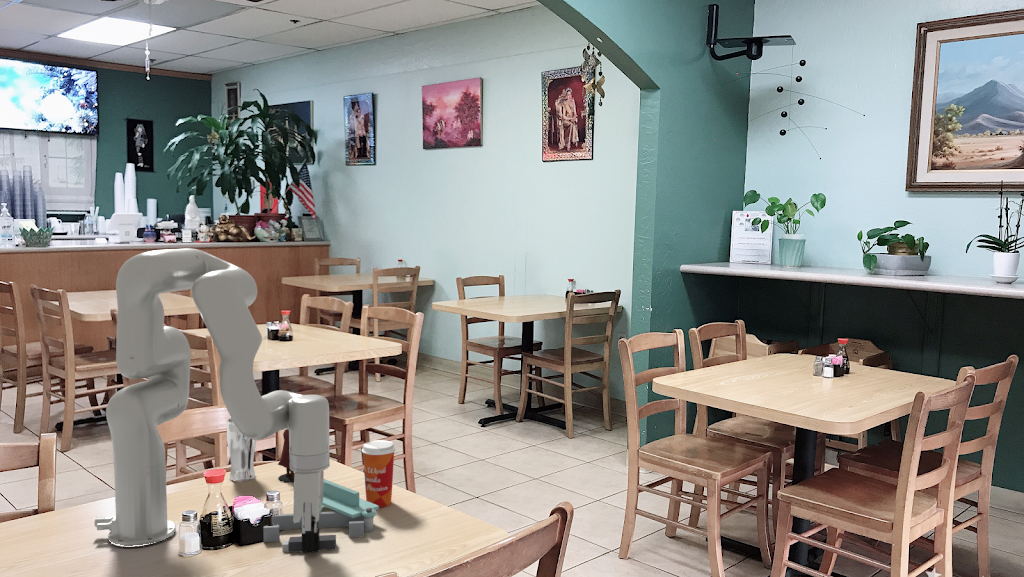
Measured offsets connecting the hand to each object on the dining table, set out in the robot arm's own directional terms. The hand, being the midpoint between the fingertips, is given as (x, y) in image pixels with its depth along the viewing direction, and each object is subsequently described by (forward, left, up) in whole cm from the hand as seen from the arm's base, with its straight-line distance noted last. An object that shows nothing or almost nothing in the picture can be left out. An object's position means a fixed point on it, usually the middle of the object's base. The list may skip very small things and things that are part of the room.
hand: (310, 550), depth 154 cm
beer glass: (-21, +48, -1) cm, 52 cm away
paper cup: (+13, +26, -1) cm, 29 cm away
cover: (+5, +18, +2) cm, 19 cm away
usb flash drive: (0, +3, -1) cm, 3 cm away
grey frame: (0, +11, -1) cm, 11 cm away
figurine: (-9, +46, -1) cm, 47 cm away
